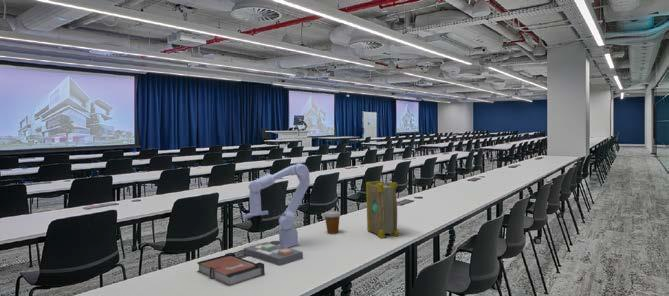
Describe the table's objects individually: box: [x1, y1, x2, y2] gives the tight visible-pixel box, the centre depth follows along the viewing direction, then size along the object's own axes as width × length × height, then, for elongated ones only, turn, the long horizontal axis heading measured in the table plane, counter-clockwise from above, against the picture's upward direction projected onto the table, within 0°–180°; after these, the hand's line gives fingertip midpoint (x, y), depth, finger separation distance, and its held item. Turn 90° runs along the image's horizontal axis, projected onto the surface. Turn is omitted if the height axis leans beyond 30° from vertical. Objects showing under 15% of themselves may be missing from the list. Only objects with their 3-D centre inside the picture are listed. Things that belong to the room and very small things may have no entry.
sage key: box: [261, 243, 276, 251], centre depth 202 cm, size 5×5×2 cm
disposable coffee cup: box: [324, 210, 341, 235], centre depth 243 cm, size 10×10×12 cm
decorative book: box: [365, 180, 400, 239], centre depth 236 cm, size 20×11×30 cm, turn 21°
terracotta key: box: [278, 248, 293, 256], centre depth 193 cm, size 5×5×2 cm
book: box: [197, 252, 266, 287], centre depth 177 cm, size 26×18×5 cm
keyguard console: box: [243, 242, 304, 267], centre depth 200 cm, size 14×28×3 cm, turn 46°
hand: (256, 230), depth 214 cm, fingers closed
